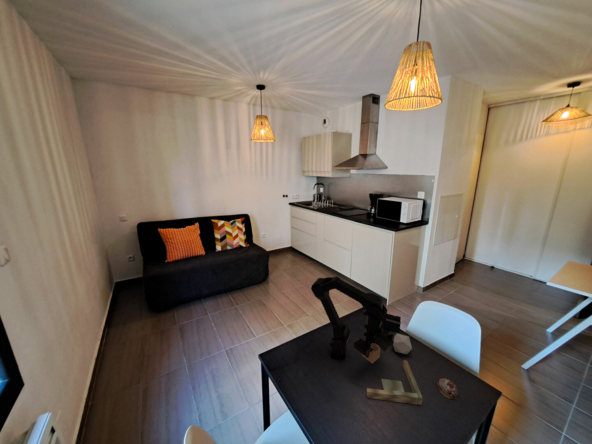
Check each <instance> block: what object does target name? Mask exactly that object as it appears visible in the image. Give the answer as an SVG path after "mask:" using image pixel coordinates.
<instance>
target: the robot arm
mask: <svg viewBox="0 0 592 444" xmlns="http://www.w3.org/2000/svg"><path fill="white" fill-rule="evenodd" d="M310 289H311V292H312V294H313V295H314V297H315V298H316V299H318V300H319V301H320V303H321V305H322V307H323V309H324V312H325V314H326V317H327V318H328V320H329V322H330V325H331V327H332V337H331V340H330V342H329V347H330V358H331V359H334V360H335V359H336V360H345V357H346V354H347V344H348V342H349V338H351V332H352V331H351V329H350V328H349V324H348V323H346V324H345V323H343V322H342V320H341V317H340V316H339V314H338V311H337V309H336V307H335V304H334V303H333V301H332V299H331V296H330V291H332V290H336V291H339V292H340V293H342V294H344V295H346V296H347V297H349V298H350V299H352V300H354V301H356V302H357V303H359V304H360V305H361V306H362V308H363V311H362V315H363V316H366V324H364V326H363V327H364V329H365V332H363V336H364V337H365V338H364V339H365V340H364V339H363V338H357V339H356V340H355V341H354V342H353V348H354V349H356V350H357V351H358V352H359V353H360V354H361V355H362V354H363V355H365V357H366V358H368V357H369V353H370V352H371V351H372V350H373V349H372V348H371V344H372V343H374V344H377V345H378V346H379V347H380V348H381V349H380V350H382V351H383V353H386V352H388V351H389V349H390V348H391V347H392V346H393V344H394V341H393V340H394V336H395V335H394V334H393V333H395V334H401V333H400V332H401V322H402V321H401V320H402V319H401V316H399V315H394V314H391V313H388V308H387V307H386V305H385V304H384V300H383V298H382V297H381V296H379V295H377V294H374V293H372V292H365V291H363V290H361V289H359V288H358V287H355V286H353V285H352V284H350V283H348V282H346V281H344V280H343V279H341V278H340V277H339V276H327V277H318V278H316V280H315V281H314V283H312V285H311V287H310ZM365 357H364V358H365ZM366 358H365V359H366Z"/></svg>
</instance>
